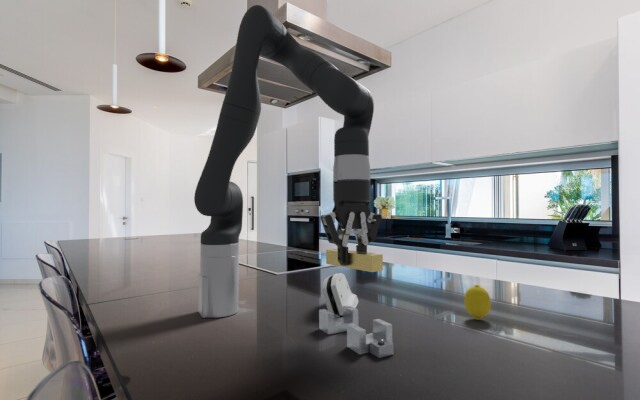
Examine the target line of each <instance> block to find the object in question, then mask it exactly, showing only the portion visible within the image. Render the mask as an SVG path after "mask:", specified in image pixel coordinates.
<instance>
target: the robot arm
mask: <svg viewBox="0 0 640 400" xmlns="http://www.w3.org/2000/svg"><path fill="white" fill-rule="evenodd" d="M237 32H238V33H237V39H236V43H235V44H236V45H235V49H234V57H233V63H232V66H231V67H232V68H231V72H230V76H229V80H228V84H227V88H226V91H225V95H224V98H223V101H222V105H221V108H220V112H219V116H218V119H217V125H216V128H215V131H214V135H213V138H212V143H211V146H210V150H209V152H208V156H207V157H206V158H207V159H206V162H205V164H204V167H203V169H202V172H201V174H200V177H199V180H198V182H197V185H196V187H195V191H194V197H193V198H194V206H195V208H196V210H197V212H199V214H200V215H202V216H206V217H210V223H209V225H208V227H207V228H206V229H205V230H203V231H202V232H201V234H200V254H199V255H200V261H199V262H200V269H199V271H200V273H199V274H198V304H197V305H198V306H197V307H198V311H197V312H198V313H199V316H200V317H201V318H203V319H205V318H222V317H223V318H225V317H228V316H233V315H235V314H237V313H238V312H239V304H240V302H239V275H240V274H239V268H240V267H239V263H240V262H239V254H240V252H239V251H240V250H239V249H240V246H239V244H240V243H239V242H240V241H239V238H240V234H241V232H242V228H243V213H244V210H243V209H244V197H243V193H242V190H241V188H240V186H239V185H238V184H236V183H235V182H233V181H231V177H232V173H233V170H234V167H235V165H236V163H237V160H238V159H239V157H240V155H241V154H242V153H243V152H244V151H245V149H246V148H247V146H248V145H249V144H250V142H251V141H252V139H253V137H254V136H255V132H256V130H257V127H258V123H259V119H260V116H261V111H262V99H261V92H260V85H259V79H258V78H259V77H258V65H259V60H260V56H262V57H265V58H268V59H270V60H271V61H274V62H275V63H279V64H280V65H282V66H284V67H285V68H286V69H288V70H289V71H290V72H291V73H292V74H293V75H294V76H295V77H296V79H297V80H298V81H300V82H301V83H302V84H303V85H304V86H305V87H307V88H308V89H309V90H311V91H312V92H313V93H315V94H316V95H317V96H318V97H319V98H320V99H321V100H322V101H323V102H324V103H325V105H327V106H328V107H329V108H331V110H332V111H334V112H336V113H337V114H339V115H342V116H343V126H342V127H340V128H338V129H336V131H335V133H334V139H333V140H334V141H333V143H334V144H333V145H334V148H333V150H334V152H333V153H334V155H333V156H334V158H333V166H332V172H333V173H332V181H333V183H332V186H333V187H332V189H333V191H332V194H333V196H332V197H333V199H332V200H333V203H334V205H333V208H332V209H331V210H332V211H331V212H329V213H327V214H322V215H320V221H321V224H322V226H323V231H324V233H325V235H326V239H327V241H328V243H329V244H333V245H336V248H337V249H338V262H340V265H343V266H348V250H349V246H348V243H349V239H350V238H349V237H350V235H351V234H352V232H353V235H355V241H356V244H357V245H355V251H359V252H367V253H368V245H369V244H370V243H373V242H375V241H376V238H377V234H378V232H379V228H380V226H381V225H380V224H381V222H382V218H383V217H382V215H381V214H380V213H378V214H377V213H374V212H372V209H371V208H370V202H371V165H370V155H369V154H370V146H369V145H370V144H369V143H370V142H369V135H370V131H371V127H372V123H373V118H374V110H375V109H374V107H375V106H374V105H375V104H374V98H373V95H372V92H371V91H370V90H369V89H368V88H367V87H365V86H364V85H363V84H362V83H360V82H359V81H357V80H355V79H354V78H352V77H350V76H349V75H348V74H346V73H344V72H343V71H341V70H339V68H337V67H336V66H335V65H334V64H333V63H332V62H330V61H329V60H327V59H326V58H324V57H323V56H322V55H320V54H319V53H318V52H315V51H314V50H311V49H310V48H306V47H305V46H303V45H302V44H301V43H300V42H298V40H296V39H295V37H294V36H293V35H292V34H291V33H290V32H289V31H288V29H287V28H286V26H284V24H283V23H282V22H281V21H280V20H279V19H278V18H277V17H276V16H275V15H274V14H273V13H272V12H270V11H269V10H268V9H267V8H265V7H264V6H262V5H260V4H254V5H252V6H251V7H249V8H248V9H247V10H246V11H245V13H244V15H243V16H242V19H241V21H240V24H239V27H238V31H237ZM335 222H337V228H336V225H335Z"/></svg>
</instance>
